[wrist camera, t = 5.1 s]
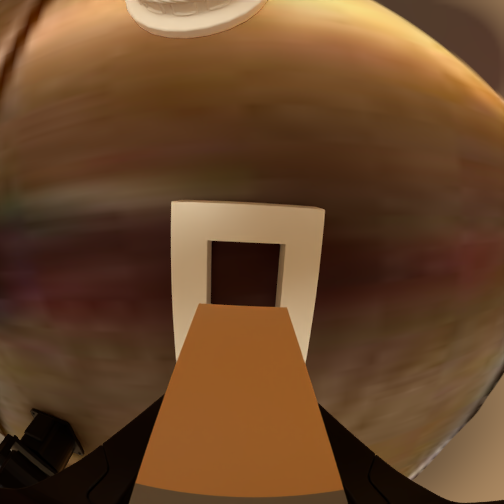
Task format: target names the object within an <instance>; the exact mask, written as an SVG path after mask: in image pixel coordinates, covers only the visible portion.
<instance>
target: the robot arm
mask: <svg viewBox="0 0 504 504" xmlns="http://www.w3.org/2000/svg"><path fill="white" fill-rule="evenodd" d="M164 396H165V394H164V395H163V396H162V397H160V398H159V399H158V400H157V401H156V402H154V403H153V404H152V405H151V406H150V407H148V408H147V409H146V410H145V411H143V412H142V413H141V414H140V415H139V416H137V417H136V418H135V419H134V420H132V421H131V422H130V423H129V424H127V425H126V426H125V427H124V428H122V429H121V430H120V431H119V432H117V433H116V434H115V435H113V436H112V437H111V438H110V439H108V440H107V441H106V442H104V443H103V446H102V445H100V446H99V447H98V448H96V449H95V450H94V451H92V452H91V453H90V454H88V455H87V456H85V457H84V458H82V459H81V460H79V461H78V462H76V463H74V464H73V465H71V466H69V467H68V468H66V469H65V467H66V465H67V463H68V461H69V459H70V457H71V455H72V454H73V452H74V453H76V454H79V455H83V454H84V452H83V450H82V448H81V446H80V444H79V442H78V440H77V438H76V436H75V434H74V432H73V430H72V428H71V426H70V425H69V424H68V423H67V422H65V421H62V420H59V419H57V418H54V417H52V416H49V415H47V414H44V413H42V412H39V411H37V410H35V409H32V410H31V414H32V415H33V417H34V419H33V421H32V422H31V423H30V425H29V426H28V427H27V429H26V430H25V432H24V433H25V434H24V436H23V437H22V438H21V440H19V439H18V437H17V436H16V435H14V437H13V436H11V435H9V434H7V436H6V437H5V438H4V440H3V441H2V442H1V444H0V504H129V502H130V499H131V495H132V492H133V489H134V486H135V482H136V479H137V476H138V473H139V470H140V467H141V464H142V461H143V457H144V454H145V451H146V448H147V445H148V442H149V439H150V436H151V433H152V430H153V428H154V425H155V422H156V419H157V416H158V413H159V410H160V407H161V404H162V402H163V399H164ZM317 403H318V402H317ZM318 406H319V409H320V412H321V416H322V419H323V422H324V425H325V429H326V432H327V435H328V438H329V442H330V445H331V448H332V452H333V455H334V458H335V462H336V465H337V468H338V472H339V475H340V478H341V482H342V485H343V489H344V492H345V495H346V499H347V502H348V504H504V500H499V501H490V502H477V503H458V502H453V501H449V500H446V499H444V498H442V497H440V496H438V495H436V494H434V493H433V492H431V491H429V490H427V489H425V488H423V487H422V486H420V485H418V484H417V483H415V482H413V481H412V480H410V479H409V478H407V477H405V476H404V475H402V474H401V473H399V472H398V471H396V470H395V469H394V468H392V467H391V466H390V465H388V464H387V463H386V462H385V461H383V460H382V459H381V458H380V457H379V456H377V455H375V453H374V452H372V451H371V450H370V449H369V448H368V447H367V446H365V445H364V444H363V443H362V442H361V441H360V440H359V439H357V438H356V437H355V436H354V435H353V434H352V433H351V432H349V431H348V430H347V429H346V428H345V427H344V426H343V425H342V424H340V423H339V422H338V421H337V420H336V419H335V418H334V417H333V416H332V415H331V414H329V413H328V412H327V411H326V410H325V409H324V408H323V407H322V406H321V405H320V404H319V403H318ZM10 449H12V451H11V450H10Z"/></svg>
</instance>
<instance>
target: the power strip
mask: <svg viewBox="0 0 504 504" xmlns="http://www.w3.org/2000/svg"><path fill="white" fill-rule="evenodd" d="M324 217H325V209H321V208H318V207H313V206H300V205H286V204H271V203H253V202H233V201H208V200H177V201H173V202H171V279H172V306H173V324H174V339H175V352H176V363H177V360H178V357H179V354H180V352H181V349H182V346H183V344H184V341H185V338H186V336H187V333H188V330H189V328H190V325H191V323H192V320H193V317H194V315H195V312H196V310H197V307H198V304H199V303H201V304H211V257H212V241H231V242H252V243H271V244H280V254H279V266H278V279H277V290H276V302H275V307H287V309H288V312H289V315H290V319H291V322H292V325H293V328H294V331H295V334H296V337H297V340H298V343H299V346H300V349H301V352H302V355H303V359H304V362H305V363H306V357H307V351H308V345H309V339H310V333H311V326H312V320H313V313H314V306H315V299H316V291H317V283H318V275H319V267H320V258H321V249H322V239H323V228H324Z"/></svg>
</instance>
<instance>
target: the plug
mask: <svg viewBox="0 0 504 504" xmlns="http://www.w3.org/2000/svg"><path fill="white" fill-rule="evenodd" d="M129 504H348V502H347V499H346V495H345V492H344V489H343V485H342V482H341V478H340V475H339V472H338V468H337V465H336V462H335V458H334V455H333V452H332V448H331V445H330V442H329V438H328V435H327V432H326V429H325V425H324V422H323V419H322V416H321V412H320V409H319V406H318V403H317V400H316V396H315V393H314V390H313V387H312V384H311V381H310V377H309V374H308V371H307V368H306V365H305V362H304V359H303V355H302V352H301V349H300V346H299V343H298V340H297V337H296V334H295V331H294V328H293V325H292V322H291V319H290V315H289V312H288V309H287V307H259V306H236V305H217V304H201V303H199V304H198V307H197V310H196V312H195V315H194V317H193V320H192V323H191V325H190V328H189V330H188V333H187V336H186V338H185V341H184V344H183V346H182V349H181V352H180V354H179V357H178V360H177V363H176V365H175V368H174V371H173V374H172V376H171V379H170V382H169V385H168V387H167V390H166V393H165V396H164V399H163V402H162V404H161V407H160V410H159V413H158V416H157V419H156V422H155V425H154V428H153V430H152V433H151V436H150V439H149V442H148V445H147V448H146V451H145V454H144V457H143V461H142V464H141V467H140V470H139V473H138V476H137V479H136V482H135V486H134V489H133V492H132V495H131V499H130V502H129Z"/></svg>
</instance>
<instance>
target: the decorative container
mask: <svg viewBox="0 0 504 504" xmlns="http://www.w3.org/2000/svg"><path fill="white" fill-rule="evenodd" d="M125 2H126V6H127V11H128V12H129V14H130V15H131V17H132V18H133V19H134V20H135V22H136V23H137V24H138V25H139V26H140V27H141V28H142V29H144V30H146V31H148V32H150V33H151V34H154V35H158V36H163V37H167V38H187V39H189V38H195V37H202V36H209V35H212V34H216V33H219V32H223V31H226V30H229V29H231V28H233V27H235V26H237V25H239V24H241V23H243V22H245V21H247V20H248V19H250V18H251V17H252V16H253V15H255V14H256V13H257V12H259V11H260V10H261V8H262V7H263V6H264V4H265V3H266V2H267V0H125Z"/></svg>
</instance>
